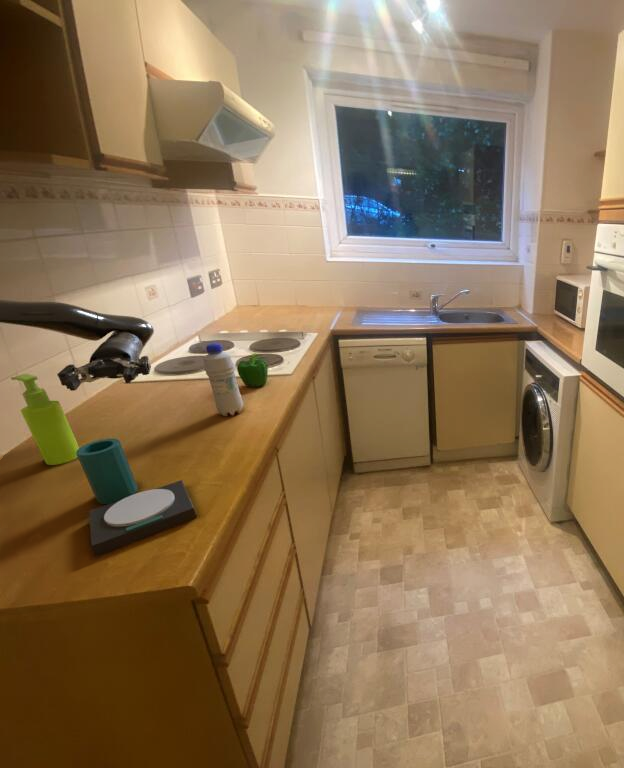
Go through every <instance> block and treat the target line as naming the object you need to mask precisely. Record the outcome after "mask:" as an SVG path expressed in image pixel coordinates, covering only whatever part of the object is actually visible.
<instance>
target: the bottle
mask: <svg viewBox="0 0 624 768" xmlns="http://www.w3.org/2000/svg"><path fill="white" fill-rule="evenodd" d="M206 352H207V354H206V355H204V356H203V358H202V359H203V369H204V371H205V375H206V376H207V377H208V380H209V383H210V387H211V390H212V394H213V399H214V404H215V407H216V410H217V412H218V414H219V415H222V416H224V417H228V415H230V416H235V413H237V414H240V413H241V412H242V411H243V409H244V401H243V398H242V395H241V392H240V389H239V384H238V381H237V378H236V373H235V371H236V368H235V363H234V362H233V359H232V356H231V354H230V353H229V352H226V351H224V350H223V346H222V345H221V343H218V342H215V343H209V344H207V345H206Z"/></svg>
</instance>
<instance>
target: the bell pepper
mask: <svg viewBox="0 0 624 768" xmlns="http://www.w3.org/2000/svg"><path fill="white" fill-rule="evenodd" d="M258 356H259V353H258V352H257V353H256V352H255V353H252V354H251V355H250V357H249V360H248V361H246V360H241V361H240V360H239V363H238V364H237V370H236V371H237V374H238V376H239V378H240V379H241V381H242V382H243V384H244V385H245V386H246V388H252V387H253V388H259V387H263V386H264V385H266V383H267V381H268V371H269V370H268V365H267V364H268V363H267V361H266V360H265V359H264V358H256V357H258Z"/></svg>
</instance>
